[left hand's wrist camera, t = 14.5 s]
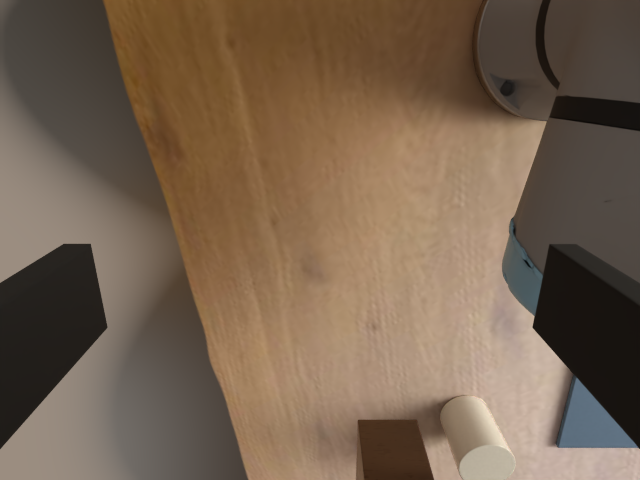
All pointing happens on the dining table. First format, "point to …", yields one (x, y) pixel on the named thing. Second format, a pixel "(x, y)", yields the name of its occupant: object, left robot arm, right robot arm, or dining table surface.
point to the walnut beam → (391, 451)
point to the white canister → (476, 440)
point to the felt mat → (589, 423)
